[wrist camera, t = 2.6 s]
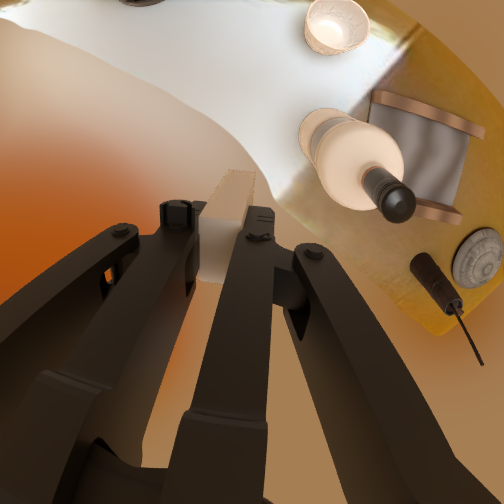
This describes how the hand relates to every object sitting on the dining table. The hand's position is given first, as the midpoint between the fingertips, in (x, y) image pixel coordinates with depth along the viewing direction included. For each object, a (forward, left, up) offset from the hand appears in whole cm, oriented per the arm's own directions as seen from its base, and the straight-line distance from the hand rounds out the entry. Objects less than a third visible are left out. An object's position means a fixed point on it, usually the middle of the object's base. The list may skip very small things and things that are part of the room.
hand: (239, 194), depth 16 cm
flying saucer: (+44, +27, -31) cm, 60 cm away
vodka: (+6, +8, -31) cm, 33 cm away
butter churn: (+38, +14, -31) cm, 51 cm away
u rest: (+16, +20, -31) cm, 40 cm away
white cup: (-8, +17, -31) cm, 36 cm away
